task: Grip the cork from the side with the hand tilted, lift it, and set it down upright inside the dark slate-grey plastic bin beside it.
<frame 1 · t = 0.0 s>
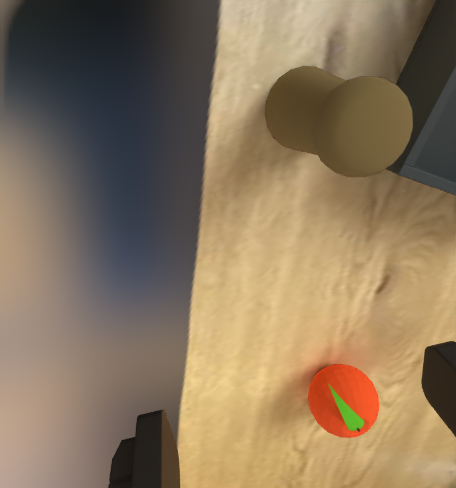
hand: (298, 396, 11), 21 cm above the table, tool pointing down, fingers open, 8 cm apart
cork: (302, 109, 29), on the table
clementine: (326, 370, 41), on the table
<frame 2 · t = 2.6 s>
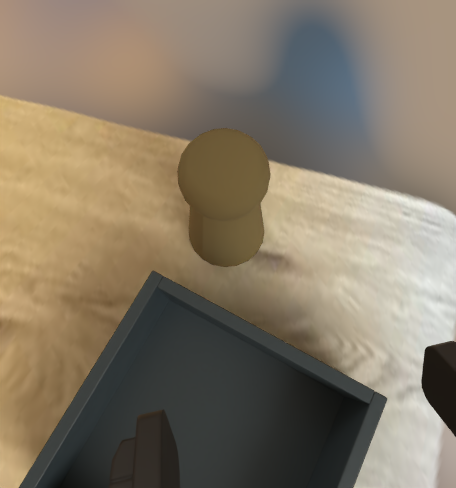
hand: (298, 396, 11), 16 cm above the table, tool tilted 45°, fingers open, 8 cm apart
bin: (205, 440, 25), on the table
cork: (226, 231, 30), on the table
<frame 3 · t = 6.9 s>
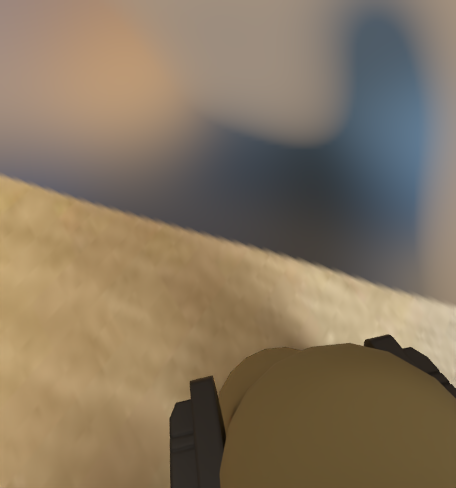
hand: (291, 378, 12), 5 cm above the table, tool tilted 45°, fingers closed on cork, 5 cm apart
cork: (284, 418, 16), on the table, touching gripper
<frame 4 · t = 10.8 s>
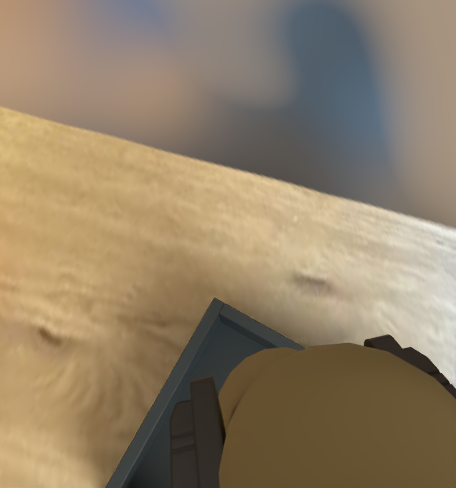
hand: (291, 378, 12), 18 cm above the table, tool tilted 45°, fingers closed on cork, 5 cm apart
bin: (256, 455, 27), on the table
cork: (283, 418, 16), point 13 cm above the table, touching gripper
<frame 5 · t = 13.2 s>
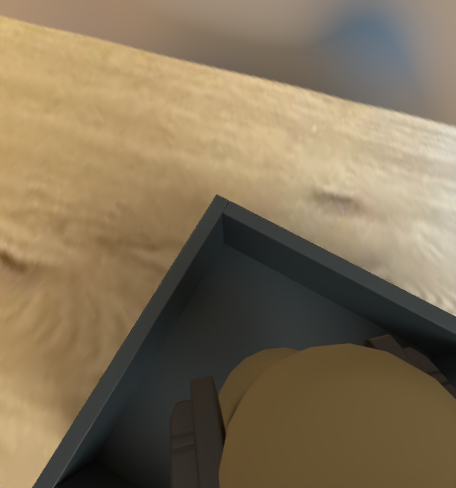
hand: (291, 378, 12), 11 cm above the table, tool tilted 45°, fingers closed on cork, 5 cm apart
bin: (269, 403, 21), on the table
cork: (283, 418, 16), point 5 cm above the table, touching gripper
when the fingers open (6 cm above the table, at t = 15.1 s): cork stays where it is, resting on bin.
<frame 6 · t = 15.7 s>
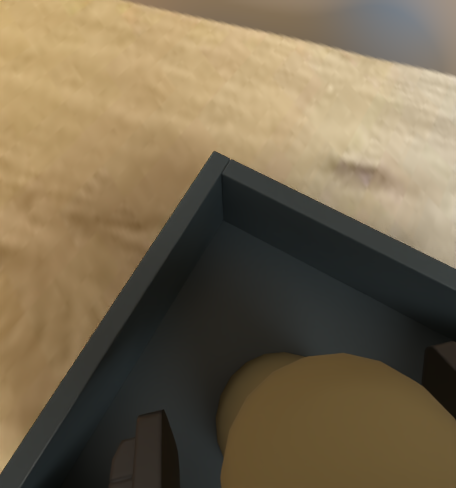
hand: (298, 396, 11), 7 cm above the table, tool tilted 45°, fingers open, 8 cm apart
bin: (280, 417, 17), on the table
cork: (282, 422, 17), resting on bin
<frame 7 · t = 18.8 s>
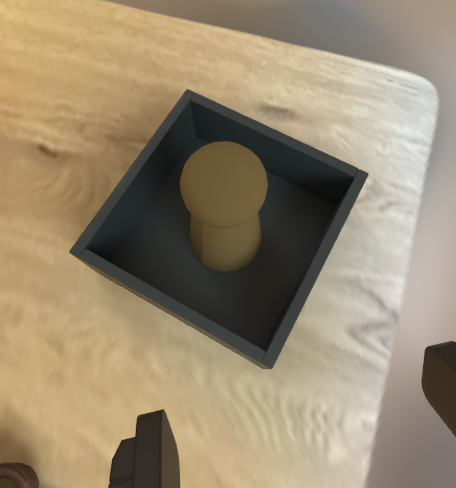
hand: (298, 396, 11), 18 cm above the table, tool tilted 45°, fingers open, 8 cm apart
bin: (225, 237, 32), on the table
cork: (225, 237, 31), resting on bin
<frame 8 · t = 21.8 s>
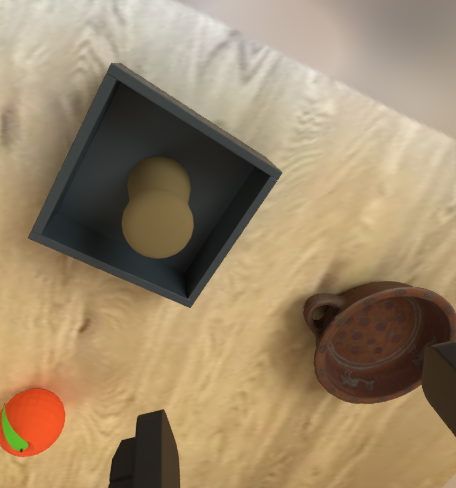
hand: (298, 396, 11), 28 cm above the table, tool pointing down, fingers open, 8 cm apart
bin: (158, 186, 36), on the table
cork: (159, 186, 36), resting on bin
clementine: (38, 393, 45), on the table
dish: (367, 324, 49), on the table
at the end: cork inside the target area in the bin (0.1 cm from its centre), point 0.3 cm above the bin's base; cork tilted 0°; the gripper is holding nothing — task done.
